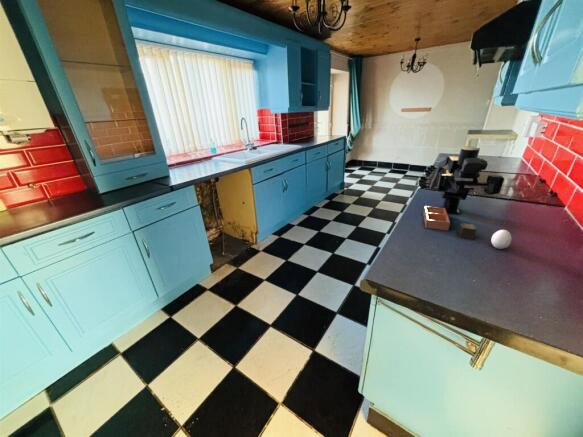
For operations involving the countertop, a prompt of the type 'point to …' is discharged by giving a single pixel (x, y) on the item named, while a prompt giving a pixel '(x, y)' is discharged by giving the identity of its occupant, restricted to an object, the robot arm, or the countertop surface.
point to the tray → (436, 218)
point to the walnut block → (467, 231)
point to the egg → (501, 239)
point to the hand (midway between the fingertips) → (474, 192)
